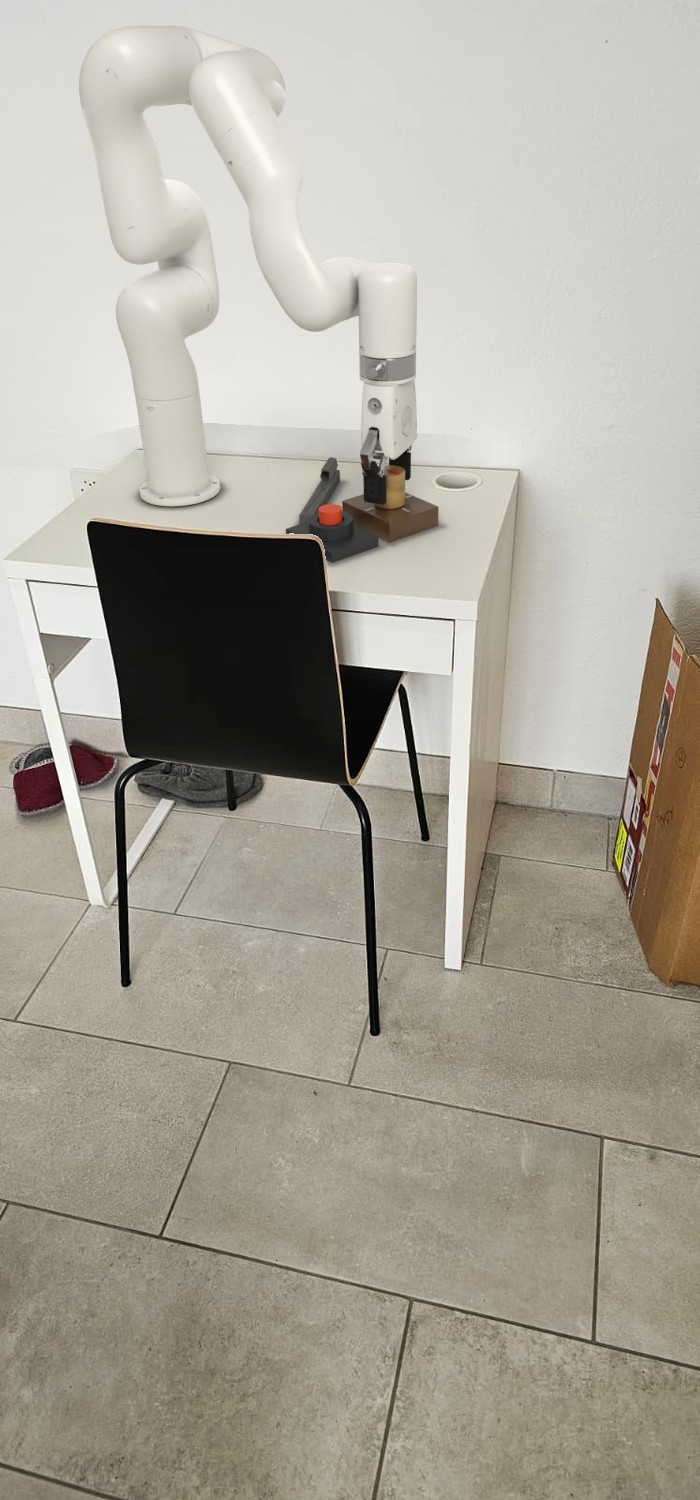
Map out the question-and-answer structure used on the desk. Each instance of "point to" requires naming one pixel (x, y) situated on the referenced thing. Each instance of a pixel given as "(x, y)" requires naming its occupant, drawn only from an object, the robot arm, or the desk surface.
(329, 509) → the power button
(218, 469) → the desk surface
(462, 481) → the desk surface
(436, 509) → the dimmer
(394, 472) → the dimmer knob
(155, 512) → the desk surface
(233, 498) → the desk surface
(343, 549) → the switch box
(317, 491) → the dark grey long bar
